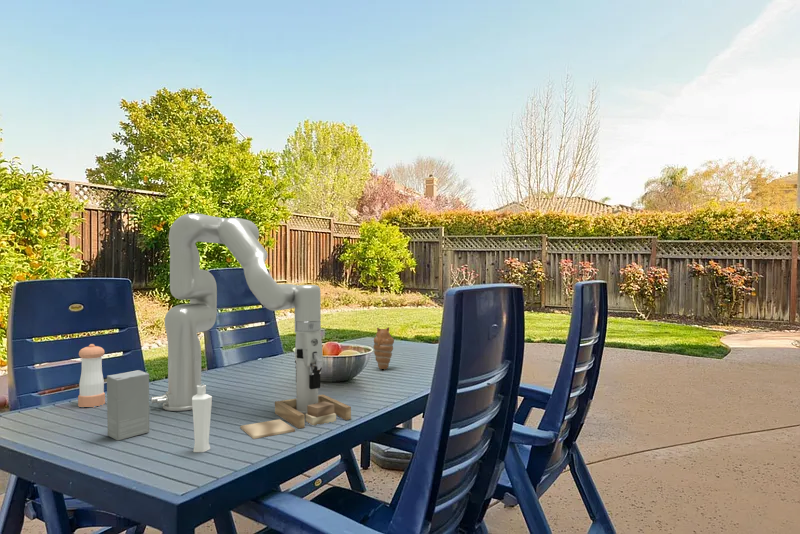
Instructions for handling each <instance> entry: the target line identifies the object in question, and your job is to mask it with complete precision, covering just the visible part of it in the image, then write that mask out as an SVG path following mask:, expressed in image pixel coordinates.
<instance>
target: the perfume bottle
mask: <svg viewBox="0 0 800 534" xmlns="http://www.w3.org/2000/svg"><path fill="white" fill-rule="evenodd" d="M206 388H207V385H206V384H201V385H197V394H196V395H195V396H193V397H192V407H193V409H192V419H193V435H194V436H193V437H194V446H193V450H192V451H193V453H205V452H207V451H209V450H211V445H210V441H209V440H210V431H211V430H210V428H211V416H212V403H213V396H212V395H210V394H208V393H207V391H206V390H207V389H206Z"/></svg>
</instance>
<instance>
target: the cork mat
mask: <svg viewBox="0 0 800 534" xmlns="http://www.w3.org/2000/svg"><path fill="white" fill-rule="evenodd" d="M239 428H240V429H241V430H242V431H243V432H245V434H247V435H248V436H249V437H250V438H252V439H253V440H255V439H257V440H258V439H262V438H266V437H272V436H277V435H283V434H287V433H289V434H290V433H294V432H296V428H294V427H293V426H291V425H289V424H288V423H286V422H285V421H284V420H282V419H280V418H279V419H273V420H267V421H262V422H254V423H250V424H244V425H243V424H242V425H240V427H239Z"/></svg>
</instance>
